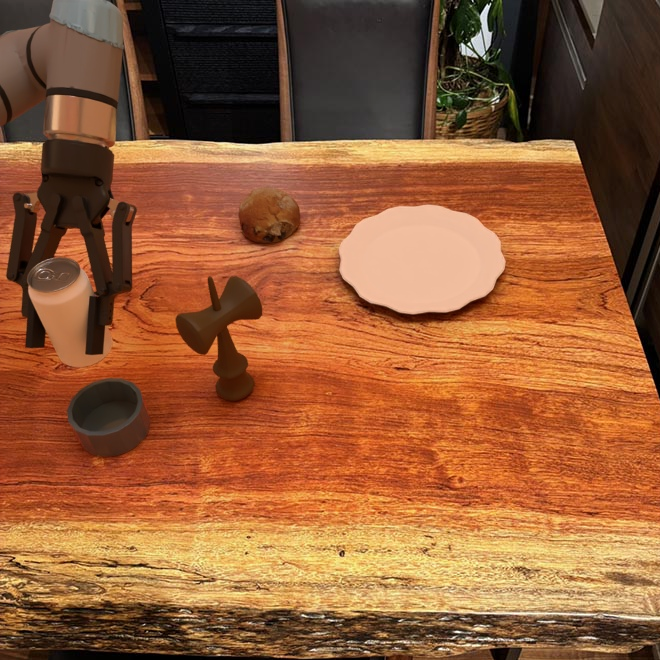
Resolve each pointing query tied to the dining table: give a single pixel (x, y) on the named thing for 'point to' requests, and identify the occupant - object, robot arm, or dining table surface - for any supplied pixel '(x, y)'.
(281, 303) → the dining table surface
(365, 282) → the plate
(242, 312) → the kendama
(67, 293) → the can
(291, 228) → the bread roll
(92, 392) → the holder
